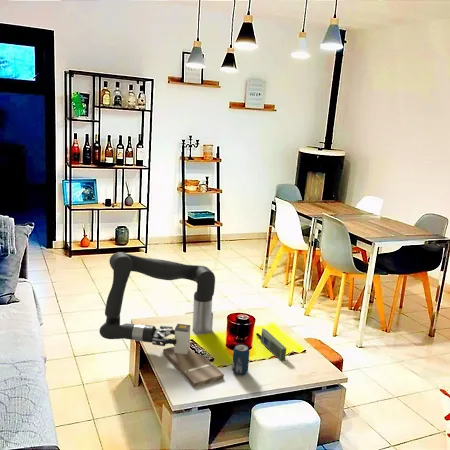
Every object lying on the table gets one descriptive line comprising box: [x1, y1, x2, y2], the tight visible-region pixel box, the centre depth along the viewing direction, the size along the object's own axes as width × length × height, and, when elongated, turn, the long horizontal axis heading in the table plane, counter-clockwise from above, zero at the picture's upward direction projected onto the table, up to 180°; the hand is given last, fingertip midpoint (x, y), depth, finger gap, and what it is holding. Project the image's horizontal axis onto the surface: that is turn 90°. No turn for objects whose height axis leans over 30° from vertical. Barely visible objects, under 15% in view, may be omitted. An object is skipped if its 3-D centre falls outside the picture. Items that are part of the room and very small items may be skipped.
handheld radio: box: [255, 327, 287, 362], centre depth 225 cm, size 7×3×25 cm
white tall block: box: [173, 323, 191, 354], centre depth 213 cm, size 5×6×12 cm
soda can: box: [231, 343, 250, 377], centre depth 202 cm, size 7×7×12 cm
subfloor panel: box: [162, 346, 225, 388], centre depth 206 cm, size 14×30×2 cm, turn 32°
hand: (178, 337), depth 213 cm, fingers open, 8 cm apart
